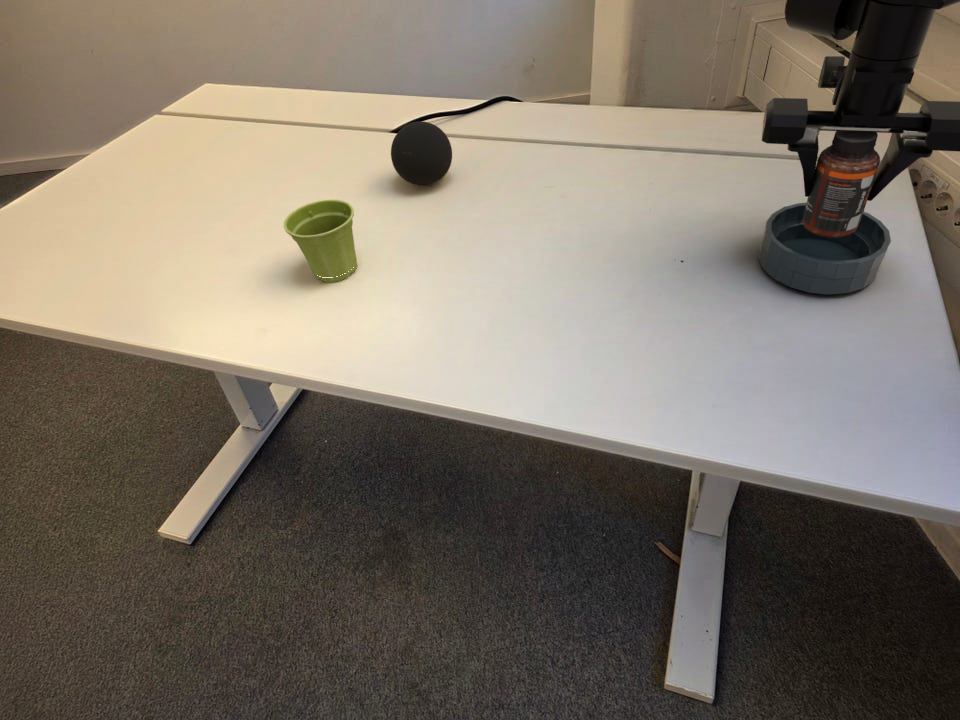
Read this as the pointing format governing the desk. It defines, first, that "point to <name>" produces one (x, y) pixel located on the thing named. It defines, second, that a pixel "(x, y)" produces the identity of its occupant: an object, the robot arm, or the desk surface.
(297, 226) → the plant pot
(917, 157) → the robot arm
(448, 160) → the speaker
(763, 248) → the bowl
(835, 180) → the supplement bottle
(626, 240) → the desk surface
